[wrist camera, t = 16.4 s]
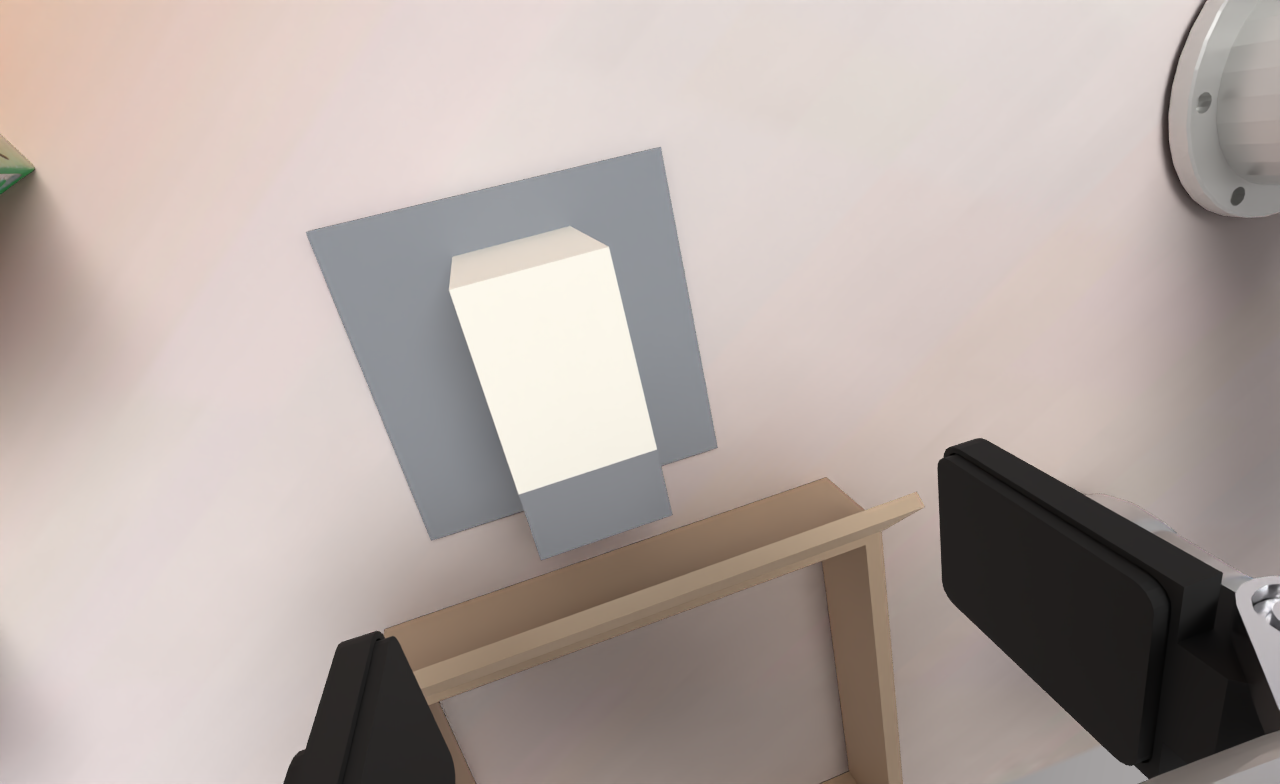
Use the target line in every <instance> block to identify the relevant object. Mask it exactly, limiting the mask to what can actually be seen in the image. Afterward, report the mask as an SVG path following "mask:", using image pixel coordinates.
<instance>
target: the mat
mask: <svg viewBox="0 0 1280 784" xmlns="http://www.w3.org/2000/svg"><path fill="white" fill-rule="evenodd" d="M568 226H571V227H573V228H575V229H577V230H578V231H580V232H582V233H584V234H586V235H588V236H590V237H592V238H593V239H595V240H597V241H599V242H601V243H603V244H605V245H606V246H608V247H609V249H610V253H611V258H612V262H613V266H614V270H615V274H616V279H617V283H618V287H619V291H620V295H621V300H622V304H623V308H624V312H625V317H626V321H627V325H628V329H629V333H630V338H631V342H632V346H633V350H634V354H635V359H636V363H637V367H638V371H639V376H640V380H641V384H642V388H643V392H644V397H645V401H646V405H647V409H648V414H649V418H650V422H651V426H652V430H653V435H654V439H655V443H656V447H657V451H658V456H659V460H660V464H661V466H663V465H666V464H669V463H672V462H675V461H678V460H681V459H684V458H687V457H690V456H693V455H697V454H700V453H703V452H706V451H709V450H712V449H715V448H718V447H717V442H716V436H715V431H714V426H713V421H712V415H711V410H710V405H709V399H708V394H707V389H706V384H705V378H704V373H703V368H702V362H701V357H700V352H699V347H698V341H697V336H696V331H695V326H694V320H693V315H692V310H691V304H690V299H689V294H688V289H687V283H686V278H685V273H684V267H683V262H682V257H681V252H680V246H679V241H678V236H677V230H676V225H675V220H674V215H673V209H672V204H671V199H670V194H669V188H668V183H667V178H666V172H665V167H664V162H663V157H662V151H661V147H658V148H653V149H649V150H645V151H641V152H637V153H633V154H628V155H624V156H620V157H616V158H612V159H608V160H603V161H599V162H595V163H591V164H587V165H582V166H578V167H574V168H570V169H566V170H562V171H557V172H553V173H549V174H545V175H541V176H537V177H532V178H528V179H524V180H520V181H516V182H511V183H507V184H503V185H499V186H495V187H491V188H486V189H482V190H478V191H474V192H470V193H466V194H461V195H457V196H453V197H449V198H445V199H441V200H436V201H432V202H428V203H424V204H420V205H415V206H411V207H407V208H403V209H399V210H395V211H390V212H386V213H382V214H378V215H374V216H370V217H365V218H361V219H357V220H353V221H349V222H344V223H340V224H336V225H332V226H328V227H324V228H319V229H315V230H311V231H308V232H306V234H307V236H308V239H309V241H310V244H311V246H312V249H313V251H314V254H315V256H316V258H317V261H318V263H319V266H320V268H321V271H322V273H323V276H324V278H325V281H326V283H327V286H328V288H329V290H330V293H331V295H332V298H333V300H334V303H335V305H336V308H337V310H338V313H339V315H340V318H341V320H342V322H343V325H344V327H345V330H346V332H347V335H348V337H349V340H350V342H351V345H352V347H353V350H354V352H355V354H356V357H357V359H358V362H359V364H360V367H361V369H362V372H363V374H364V377H365V379H366V382H367V384H368V386H369V389H370V391H371V394H372V396H373V399H374V401H375V404H376V406H377V409H378V411H379V414H380V416H381V418H382V421H383V423H384V426H385V428H386V431H387V433H388V436H389V438H390V441H391V443H392V446H393V448H394V450H395V453H396V455H397V458H398V460H399V463H400V465H401V468H402V470H403V473H404V475H405V477H406V480H407V482H408V485H409V487H410V490H411V492H412V495H413V497H414V500H415V502H416V505H417V507H418V509H419V512H420V514H421V517H422V519H423V522H424V524H425V527H426V529H427V532H428V534H429V537H430V539H431V541H432V540H435V539H439V538H442V537H445V536H448V535H451V534H454V533H457V532H460V531H463V530H466V529H469V528H472V527H475V526H478V525H482V524H485V523H488V522H491V521H494V520H497V519H500V518H503V517H506V516H509V515H512V514H515V513H518V512H521V511H524V509H523V506H522V503H521V500H520V497H519V494H518V491H517V488H516V485H515V483H514V480H513V477H512V474H511V471H510V468H509V465H508V462H507V459H506V456H505V453H504V450H503V447H502V444H501V441H500V439H499V436H498V433H497V430H496V427H495V424H494V421H493V418H492V415H491V412H490V409H489V406H488V403H487V400H486V397H485V395H484V392H483V389H482V386H481V383H480V380H479V377H478V374H477V371H476V368H475V365H474V362H473V359H472V356H471V353H470V351H469V348H468V345H467V342H466V339H465V336H464V333H463V330H462V327H461V324H460V321H459V318H458V315H457V312H456V309H455V306H454V304H453V301H452V298H451V295H450V292H449V284H450V274H451V265H452V257H453V256H457V255H461V254H465V253H469V252H473V251H476V250H480V249H484V248H488V247H492V246H496V245H499V244H503V243H507V242H511V241H515V240H518V239H522V238H526V237H530V236H534V235H538V234H541V233H545V232H549V231H553V230H557V229H561V228H564V227H568Z"/></svg>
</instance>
